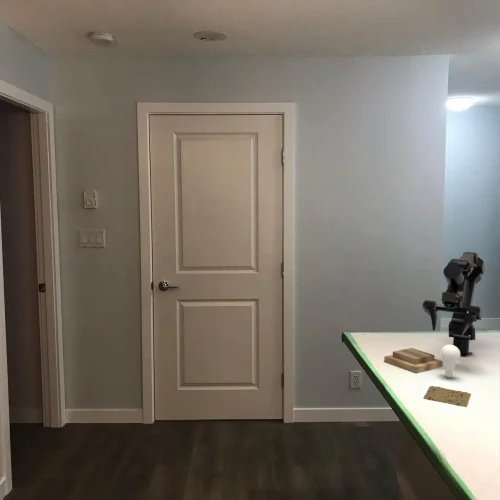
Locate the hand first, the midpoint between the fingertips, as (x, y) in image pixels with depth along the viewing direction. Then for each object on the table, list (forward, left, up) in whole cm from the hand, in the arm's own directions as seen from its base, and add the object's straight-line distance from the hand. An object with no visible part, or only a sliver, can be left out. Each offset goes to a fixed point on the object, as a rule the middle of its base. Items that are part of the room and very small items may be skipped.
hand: (447, 332), depth 172 cm
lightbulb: (+6, +5, -13) cm, 15 cm away
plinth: (+3, -10, -13) cm, 17 cm away
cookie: (+22, +13, -14) cm, 29 cm away
